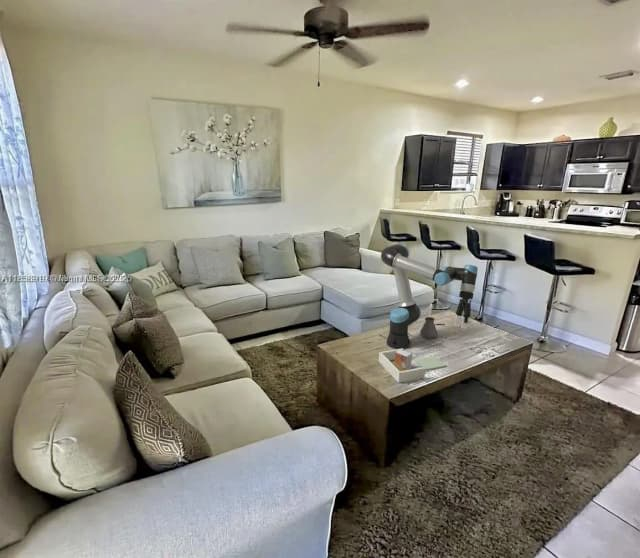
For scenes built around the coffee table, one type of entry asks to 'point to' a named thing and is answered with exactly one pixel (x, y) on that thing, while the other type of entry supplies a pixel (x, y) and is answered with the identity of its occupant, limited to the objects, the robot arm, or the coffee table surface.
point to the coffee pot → (429, 328)
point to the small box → (403, 360)
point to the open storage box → (398, 375)
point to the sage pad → (430, 363)
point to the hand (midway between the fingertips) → (460, 327)
